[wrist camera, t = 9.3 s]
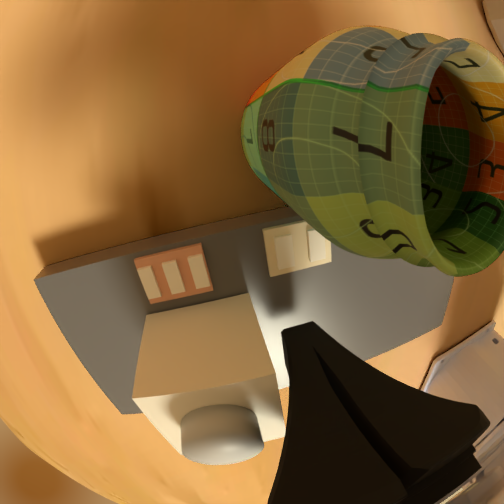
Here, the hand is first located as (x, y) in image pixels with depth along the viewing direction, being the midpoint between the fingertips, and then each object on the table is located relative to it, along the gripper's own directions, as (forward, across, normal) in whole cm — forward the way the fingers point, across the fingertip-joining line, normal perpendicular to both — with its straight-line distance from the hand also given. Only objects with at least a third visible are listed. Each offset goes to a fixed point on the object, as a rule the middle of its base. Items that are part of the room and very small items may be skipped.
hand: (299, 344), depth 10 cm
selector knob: (+1, +3, 0) cm, 4 cm away
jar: (+3, -2, -7) cm, 8 cm away
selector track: (+3, 0, 0) cm, 3 cm away
